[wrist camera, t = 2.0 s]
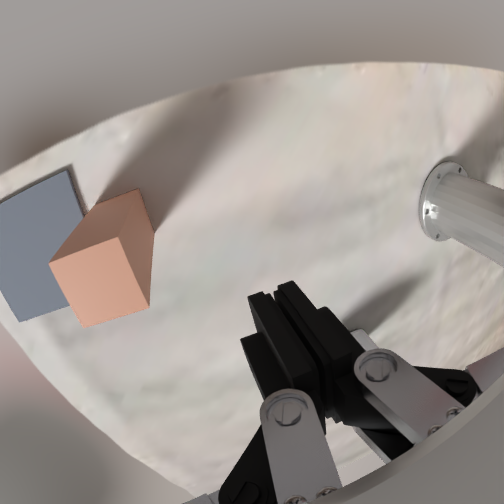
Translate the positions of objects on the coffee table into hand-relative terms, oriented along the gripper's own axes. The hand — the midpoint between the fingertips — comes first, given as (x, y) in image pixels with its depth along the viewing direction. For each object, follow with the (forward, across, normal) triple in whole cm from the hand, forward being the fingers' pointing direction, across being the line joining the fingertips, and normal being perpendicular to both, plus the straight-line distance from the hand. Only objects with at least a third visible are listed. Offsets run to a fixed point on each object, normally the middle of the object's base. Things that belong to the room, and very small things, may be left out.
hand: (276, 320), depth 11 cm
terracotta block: (+22, +8, 0) cm, 24 cm away
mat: (+22, +20, 0) cm, 30 cm away
